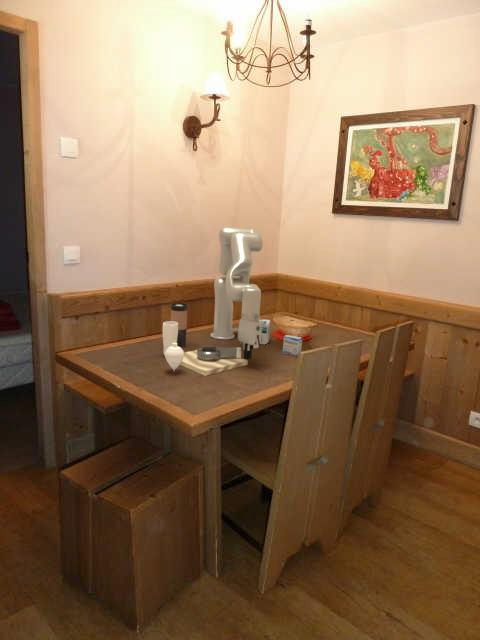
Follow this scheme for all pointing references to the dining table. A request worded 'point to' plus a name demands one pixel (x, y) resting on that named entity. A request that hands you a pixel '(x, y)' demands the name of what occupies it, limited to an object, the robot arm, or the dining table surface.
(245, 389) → the dining table surface
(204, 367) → the board
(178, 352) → the spinning top
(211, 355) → the silver piece
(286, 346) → the medicine box
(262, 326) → the light bulb box
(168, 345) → the drinking glass
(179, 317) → the travel mug
